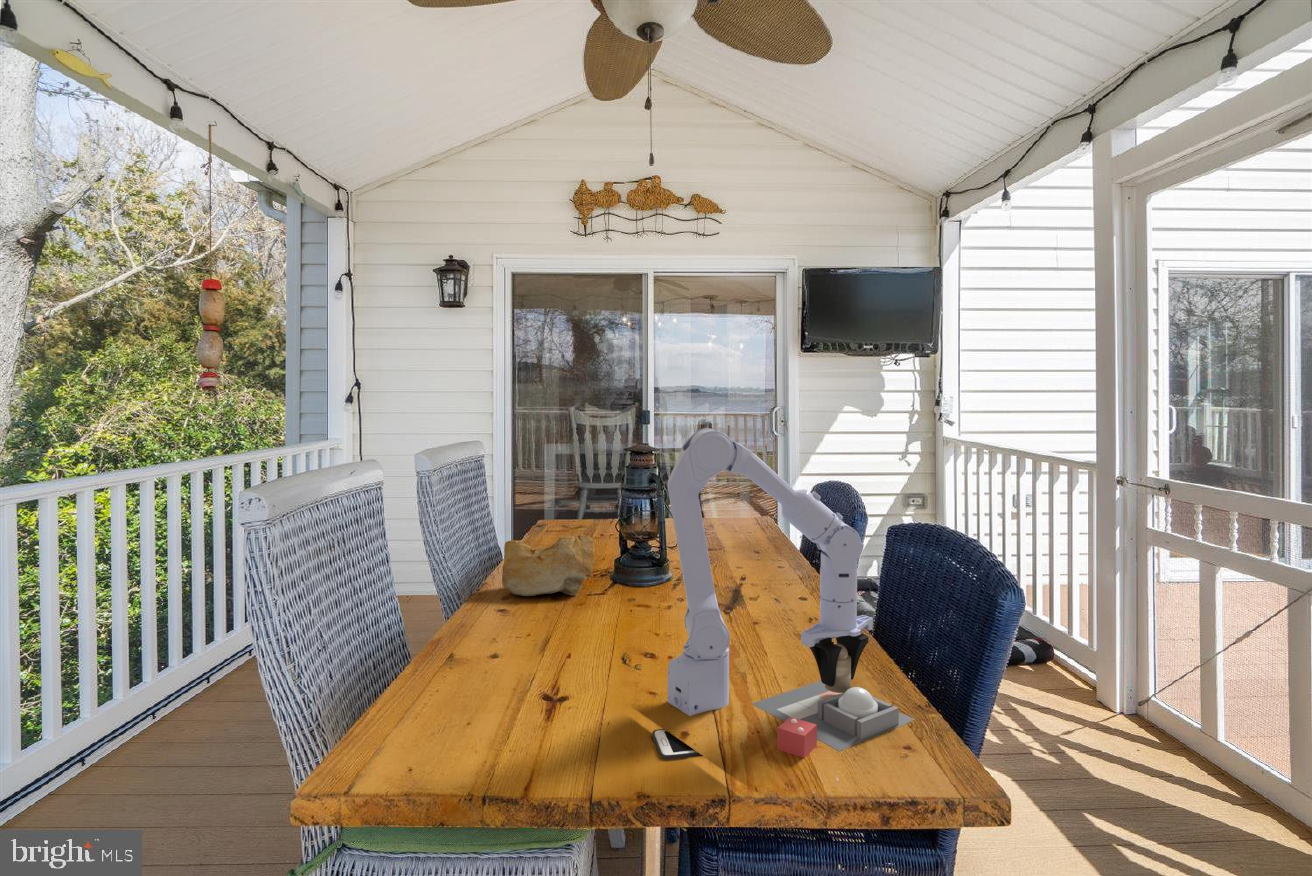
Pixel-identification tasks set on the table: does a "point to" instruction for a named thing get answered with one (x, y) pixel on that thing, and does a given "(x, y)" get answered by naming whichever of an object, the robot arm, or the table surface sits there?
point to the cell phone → (672, 746)
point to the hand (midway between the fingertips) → (837, 681)
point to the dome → (858, 703)
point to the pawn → (842, 672)
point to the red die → (797, 737)
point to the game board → (832, 715)
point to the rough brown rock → (548, 566)
